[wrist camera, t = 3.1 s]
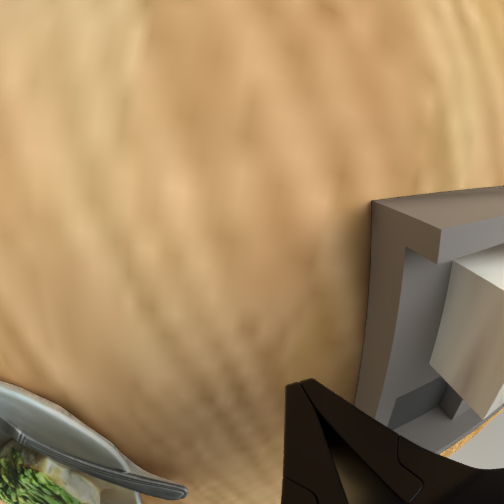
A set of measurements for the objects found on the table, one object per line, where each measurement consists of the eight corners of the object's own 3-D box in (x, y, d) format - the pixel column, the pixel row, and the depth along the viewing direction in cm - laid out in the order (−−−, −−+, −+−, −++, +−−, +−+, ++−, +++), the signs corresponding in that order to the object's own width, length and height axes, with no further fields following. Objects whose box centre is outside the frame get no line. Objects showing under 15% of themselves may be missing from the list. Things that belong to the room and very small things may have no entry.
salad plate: (196, 373, 12) (209, 470, 7) (180, 518, 17) (187, 563, 13) (-114, 297, 6) (-154, 337, 2) (-24, 470, 12) (-34, 507, 8)
